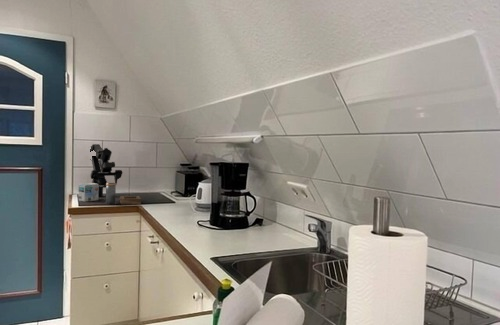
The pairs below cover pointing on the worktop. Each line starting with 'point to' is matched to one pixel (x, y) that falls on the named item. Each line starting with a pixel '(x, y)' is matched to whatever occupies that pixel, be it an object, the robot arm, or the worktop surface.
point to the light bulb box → (88, 192)
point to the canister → (110, 193)
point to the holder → (130, 200)
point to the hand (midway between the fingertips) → (108, 184)
